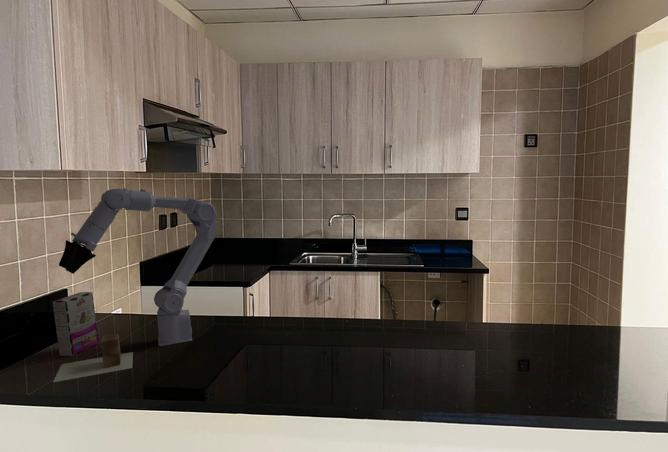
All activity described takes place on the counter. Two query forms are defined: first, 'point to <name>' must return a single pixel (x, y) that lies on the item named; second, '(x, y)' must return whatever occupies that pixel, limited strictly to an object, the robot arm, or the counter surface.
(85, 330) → the candy bar box
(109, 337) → the walnut block
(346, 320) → the counter surface
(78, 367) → the cream board
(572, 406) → the counter surface
